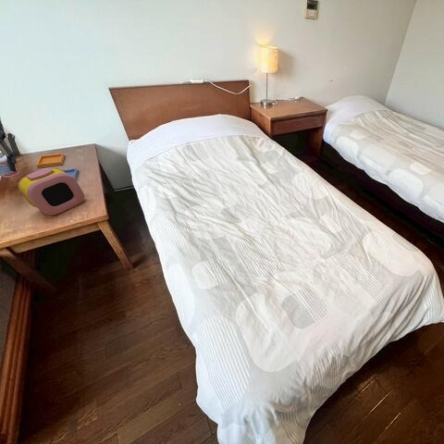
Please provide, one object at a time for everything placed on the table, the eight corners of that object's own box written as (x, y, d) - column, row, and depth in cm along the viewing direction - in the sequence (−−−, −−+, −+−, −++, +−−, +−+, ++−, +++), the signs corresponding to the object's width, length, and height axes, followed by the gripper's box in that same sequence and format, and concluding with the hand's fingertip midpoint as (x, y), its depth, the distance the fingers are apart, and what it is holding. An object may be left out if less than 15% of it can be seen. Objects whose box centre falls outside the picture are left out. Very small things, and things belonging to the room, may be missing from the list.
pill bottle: (8, 179, 113) (-10, 157, 106) (-1, 175, 114) (-20, 153, 107) (23, 173, 117) (6, 151, 110) (14, 169, 119) (-4, 148, 111)
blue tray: (50, 185, 134) (48, 182, 133) (54, 174, 141) (52, 171, 140) (76, 181, 139) (74, 178, 137) (78, 171, 146) (76, 168, 144)
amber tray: (38, 168, 145) (36, 165, 143) (42, 159, 152) (40, 155, 151) (62, 165, 149) (60, 161, 148) (65, 156, 156) (63, 153, 155)
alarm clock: (48, 220, 116) (20, 186, 102) (36, 211, 119) (7, 177, 106) (89, 200, 128) (69, 167, 115) (77, 193, 131) (56, 160, 118)
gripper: (22, 124, 118) (35, 171, 118) (-33, 127, 110) (-19, 177, 111) (11, 116, 111) (25, 166, 111) (-49, 120, 104) (-33, 173, 104)
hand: (3, 172), depth 111 cm, fingers closed on pill bottle, 6 cm apart
